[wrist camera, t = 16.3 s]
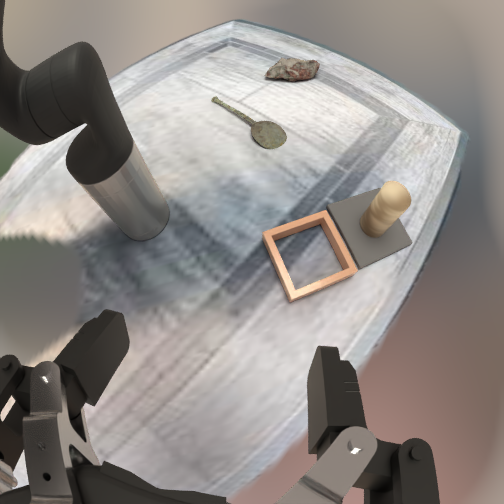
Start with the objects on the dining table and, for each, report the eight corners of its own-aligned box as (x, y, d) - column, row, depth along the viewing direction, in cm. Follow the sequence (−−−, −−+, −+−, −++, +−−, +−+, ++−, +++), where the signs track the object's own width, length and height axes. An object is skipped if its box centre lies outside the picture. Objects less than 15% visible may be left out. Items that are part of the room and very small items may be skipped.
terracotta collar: (262, 238, 43) (262, 232, 41) (322, 217, 44) (326, 209, 42) (289, 302, 40) (291, 299, 37) (352, 275, 41) (357, 271, 38)
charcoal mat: (326, 207, 45) (327, 205, 44) (378, 190, 46) (380, 187, 46) (358, 269, 41) (360, 267, 40) (410, 244, 42) (412, 242, 42)
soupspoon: (269, 158, 51) (292, 143, 52) (270, 146, 47) (294, 132, 49) (203, 107, 56) (225, 96, 58) (202, 96, 53) (225, 85, 55)
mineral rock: (265, 83, 59) (266, 69, 55) (264, 69, 62) (264, 56, 58) (322, 85, 59) (324, 72, 55) (316, 71, 62) (318, 59, 58)
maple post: (354, 217, 43) (376, 185, 34) (375, 208, 44) (399, 177, 35) (368, 241, 42) (394, 214, 32) (389, 232, 42) (416, 204, 33)
